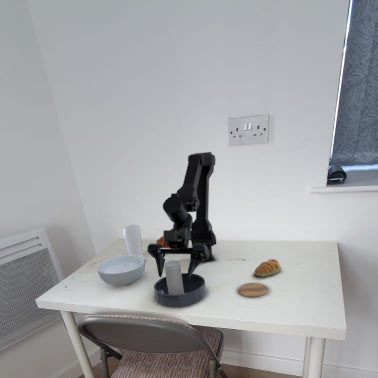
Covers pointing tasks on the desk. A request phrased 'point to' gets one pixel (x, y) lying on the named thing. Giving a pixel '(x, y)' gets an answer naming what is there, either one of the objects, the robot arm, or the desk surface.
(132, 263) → the cereal bowl
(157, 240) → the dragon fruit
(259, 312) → the desk surface
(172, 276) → the beverage can
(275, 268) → the pastry
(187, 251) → the robot arm
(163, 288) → the pan
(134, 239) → the drinking glass
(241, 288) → the coaster
